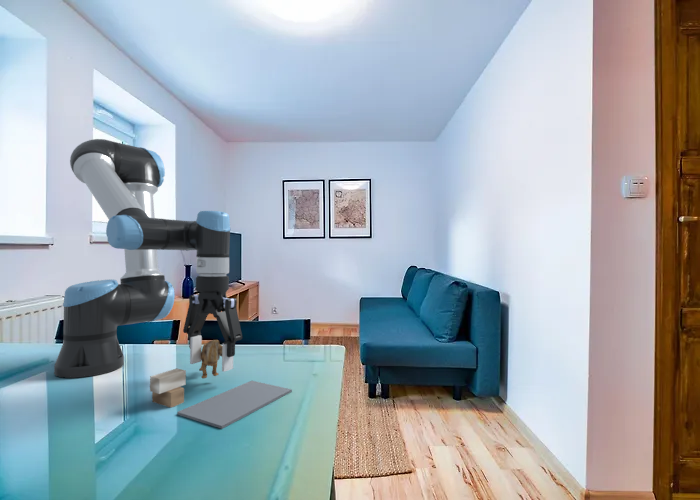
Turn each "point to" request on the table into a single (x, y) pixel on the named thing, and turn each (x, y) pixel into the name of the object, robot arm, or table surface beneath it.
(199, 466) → the table surface
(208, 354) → the lion figurine
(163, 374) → the brick stack
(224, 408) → the gray mat
